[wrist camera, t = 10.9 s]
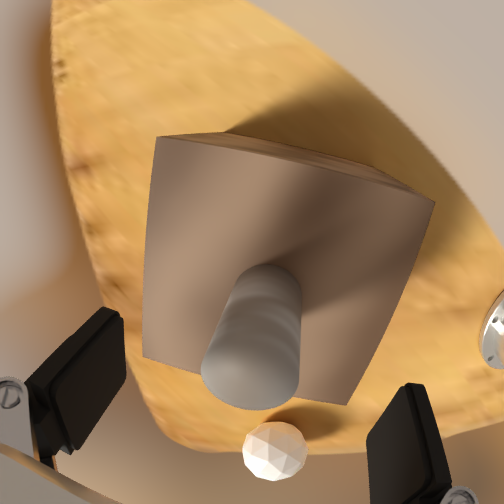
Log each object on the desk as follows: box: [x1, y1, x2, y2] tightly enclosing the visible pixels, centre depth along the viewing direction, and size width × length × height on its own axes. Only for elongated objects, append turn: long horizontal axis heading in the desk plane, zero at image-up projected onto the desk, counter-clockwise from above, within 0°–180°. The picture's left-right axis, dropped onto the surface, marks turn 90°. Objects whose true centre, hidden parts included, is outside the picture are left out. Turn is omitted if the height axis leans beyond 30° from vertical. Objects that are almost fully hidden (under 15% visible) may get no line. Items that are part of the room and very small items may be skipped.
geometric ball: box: [243, 422, 309, 481], centre depth 33 cm, size 8×8×8 cm
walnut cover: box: [142, 132, 435, 410], centre depth 18 cm, size 12×12×18 cm
